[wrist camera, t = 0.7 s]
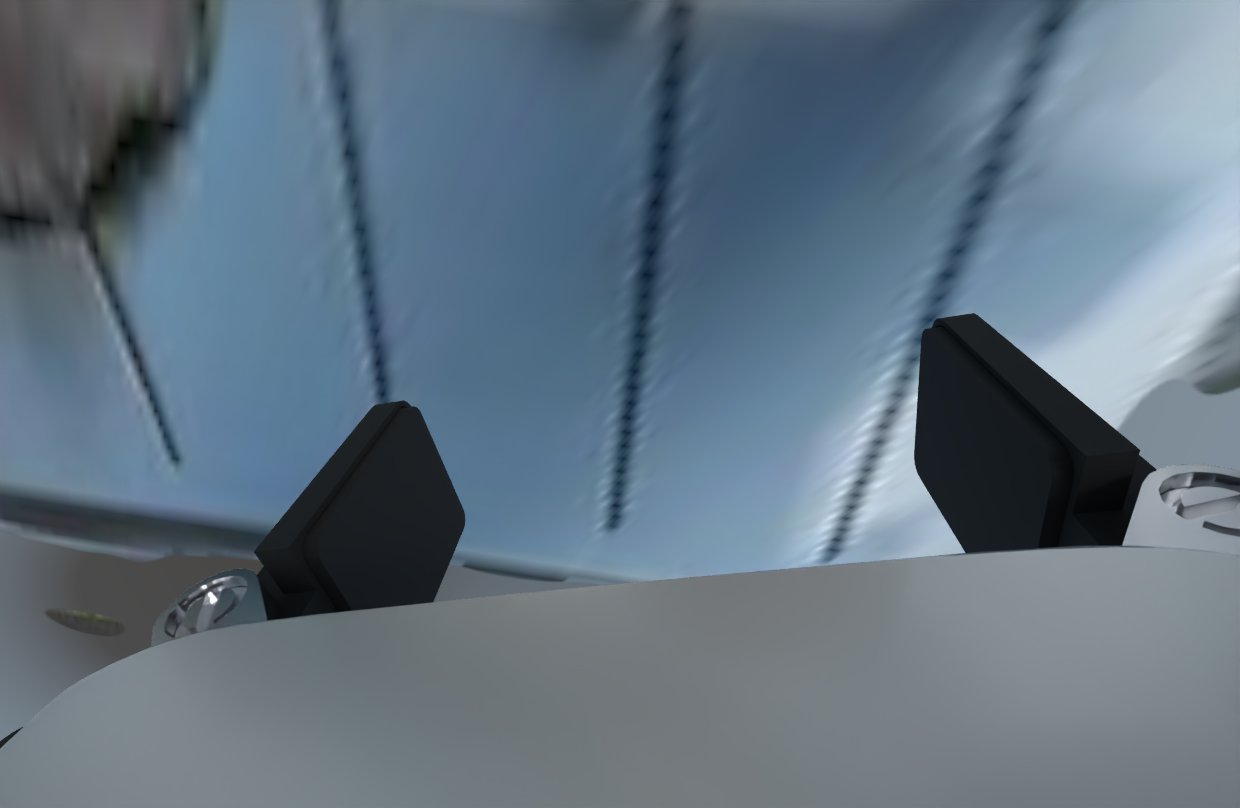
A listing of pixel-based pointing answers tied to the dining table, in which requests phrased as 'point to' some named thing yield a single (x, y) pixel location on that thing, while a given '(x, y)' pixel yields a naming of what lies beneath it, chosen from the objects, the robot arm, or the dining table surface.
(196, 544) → the dining table surface
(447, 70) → the dining table surface
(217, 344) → the dining table surface
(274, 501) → the dining table surface
